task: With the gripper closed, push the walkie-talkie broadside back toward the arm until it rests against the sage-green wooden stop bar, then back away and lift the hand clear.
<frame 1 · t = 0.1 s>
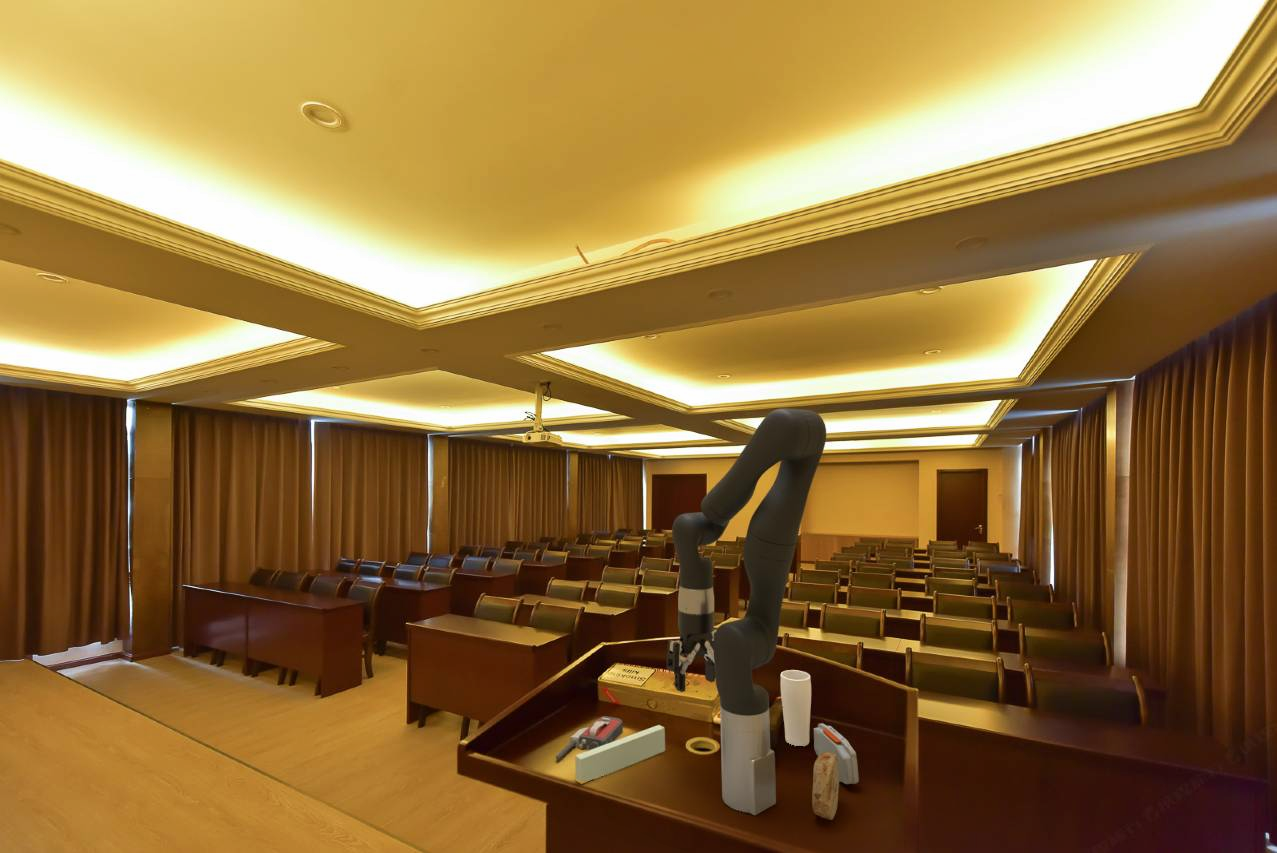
hand: (695, 685, 122), 17 cm above the table, tool pointing down, fingers open, 8 cm apart
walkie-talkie: (591, 747, 132), on the table
stop bar: (622, 765, 123), on the table
drinking glass: (797, 743, 132), on the table
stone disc: (826, 814, 105), on the table
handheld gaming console: (834, 774, 119), on the table
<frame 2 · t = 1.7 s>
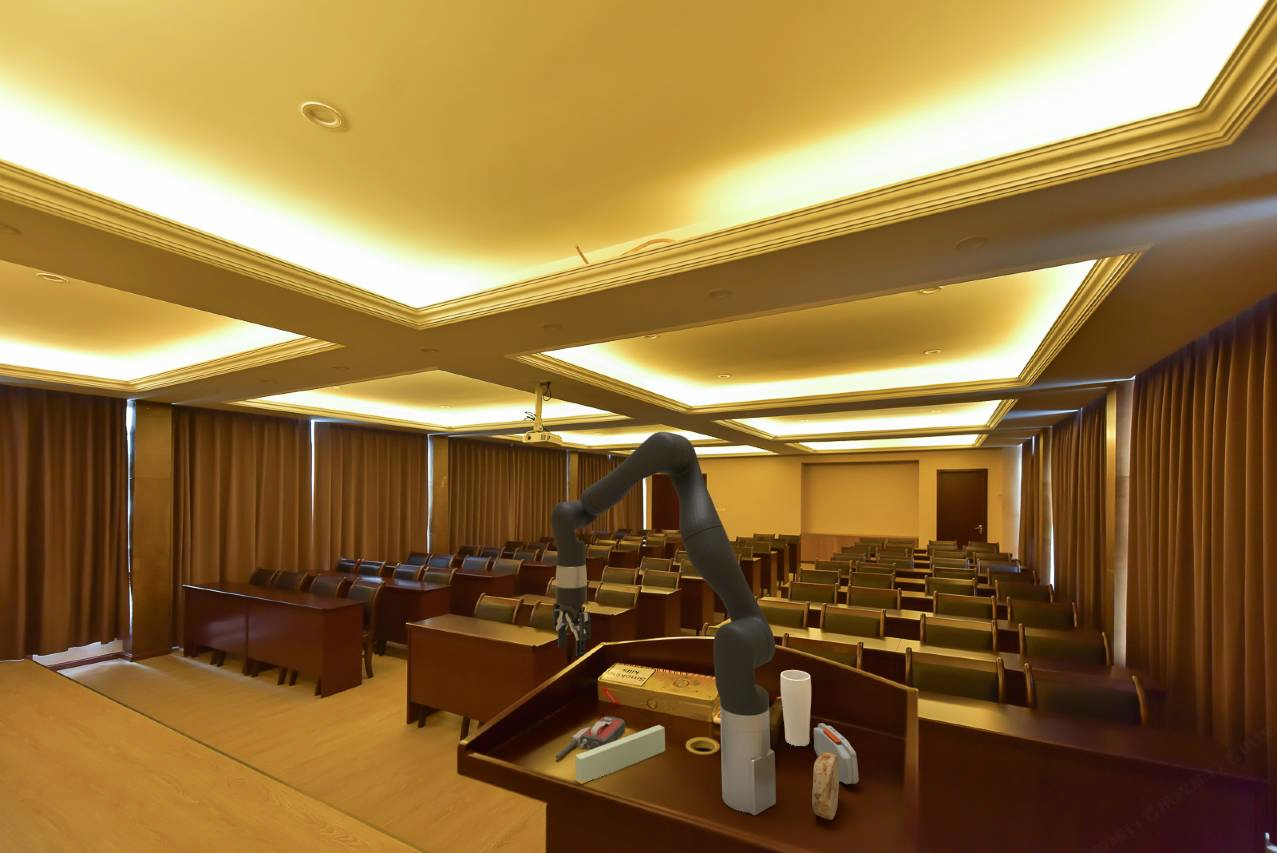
hand: (571, 650, 141), 19 cm above the table, tool pointing down, fingers open, 8 cm apart
nothing on the table moved.
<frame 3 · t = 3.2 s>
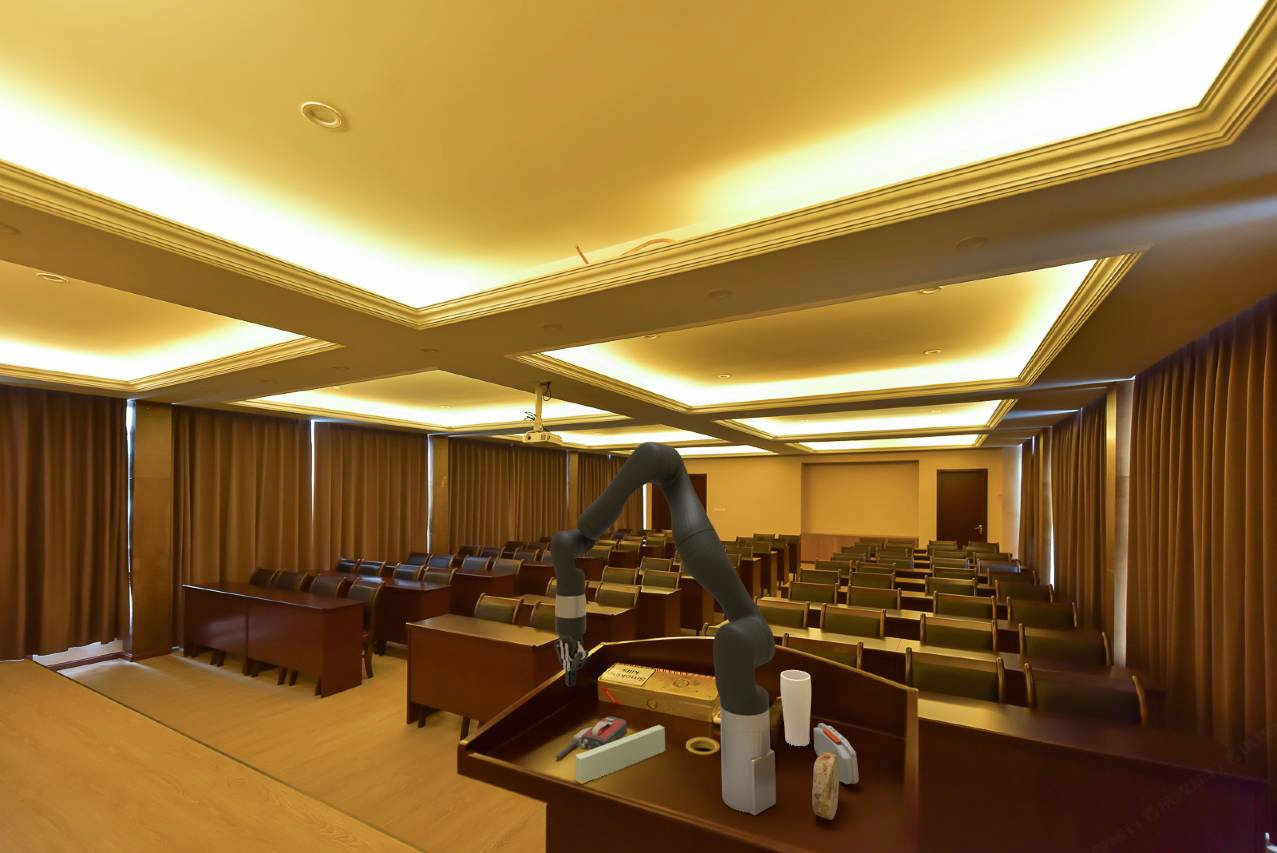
hand: (570, 685, 140), 11 cm above the table, tool pointing down, fingers closed
nothing on the table moved.
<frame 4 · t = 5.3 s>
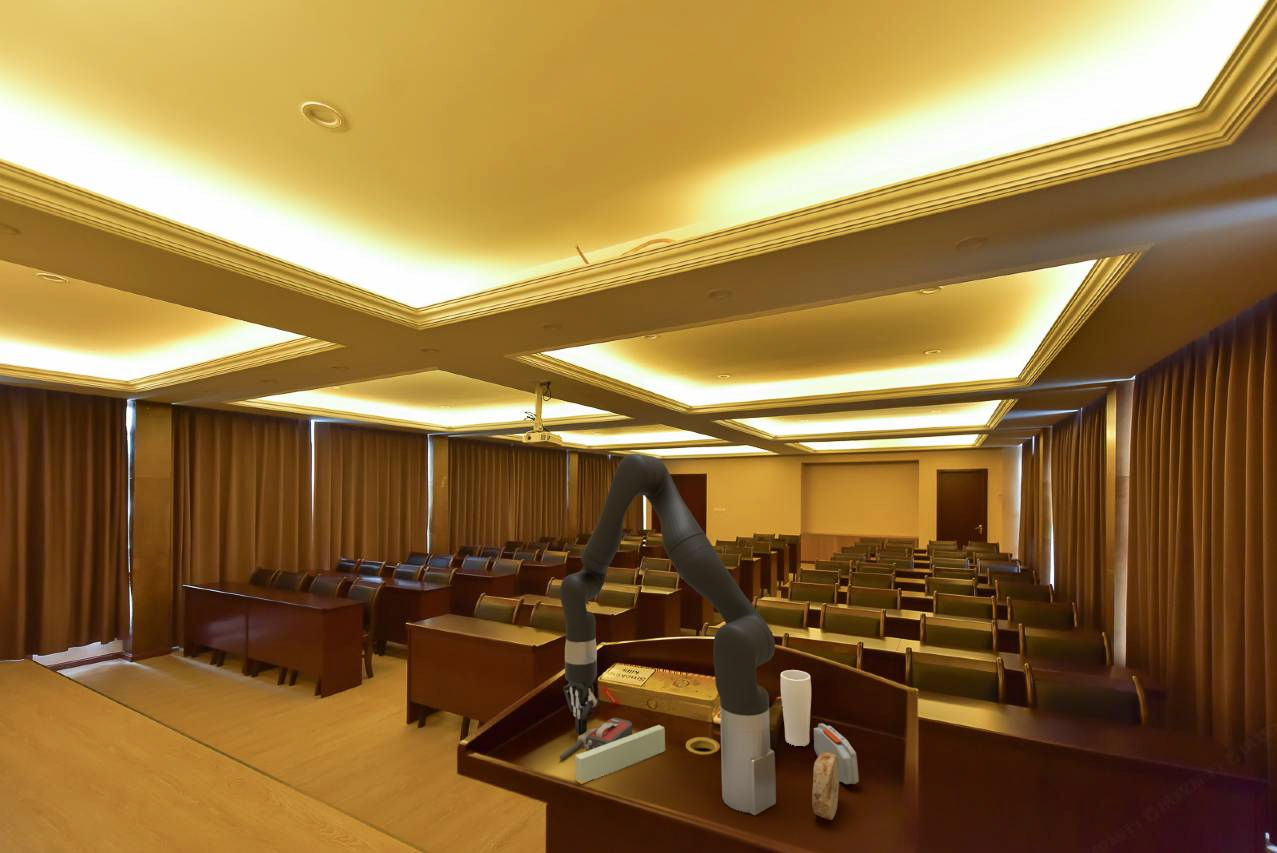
hand: (581, 732, 136), 1 cm above the table, tool pointing down, fingers closed
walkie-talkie: (598, 748, 132), on the table
everything else where it was.
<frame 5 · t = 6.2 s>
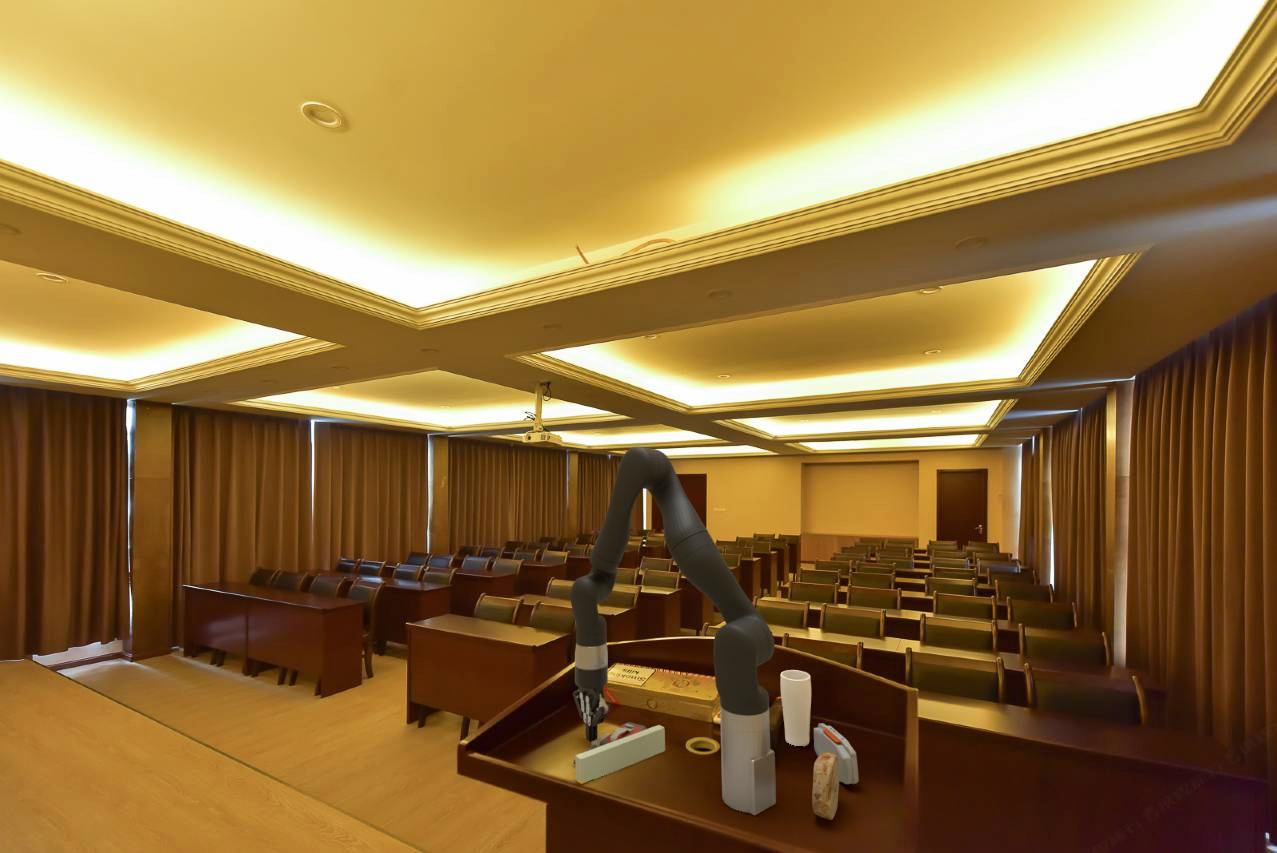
hand: (591, 739, 132), 1 cm above the table, tool pointing down, fingers closed
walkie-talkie: (612, 753, 129), on the table, touching gripper
everything else where it was.
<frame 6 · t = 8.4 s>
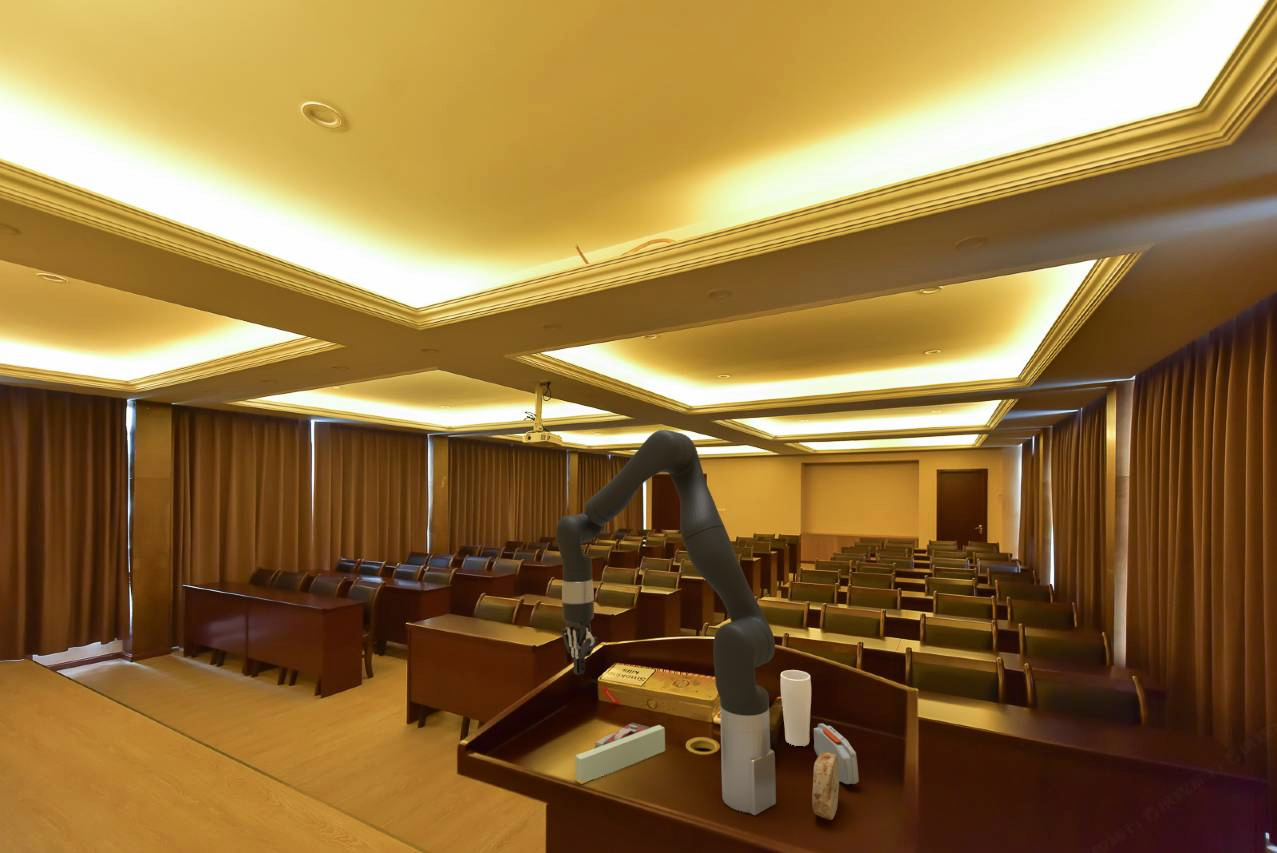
hand: (579, 673, 137), 15 cm above the table, tool pointing down, fingers closed
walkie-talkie: (616, 754, 129), on the table
everything else where it was.
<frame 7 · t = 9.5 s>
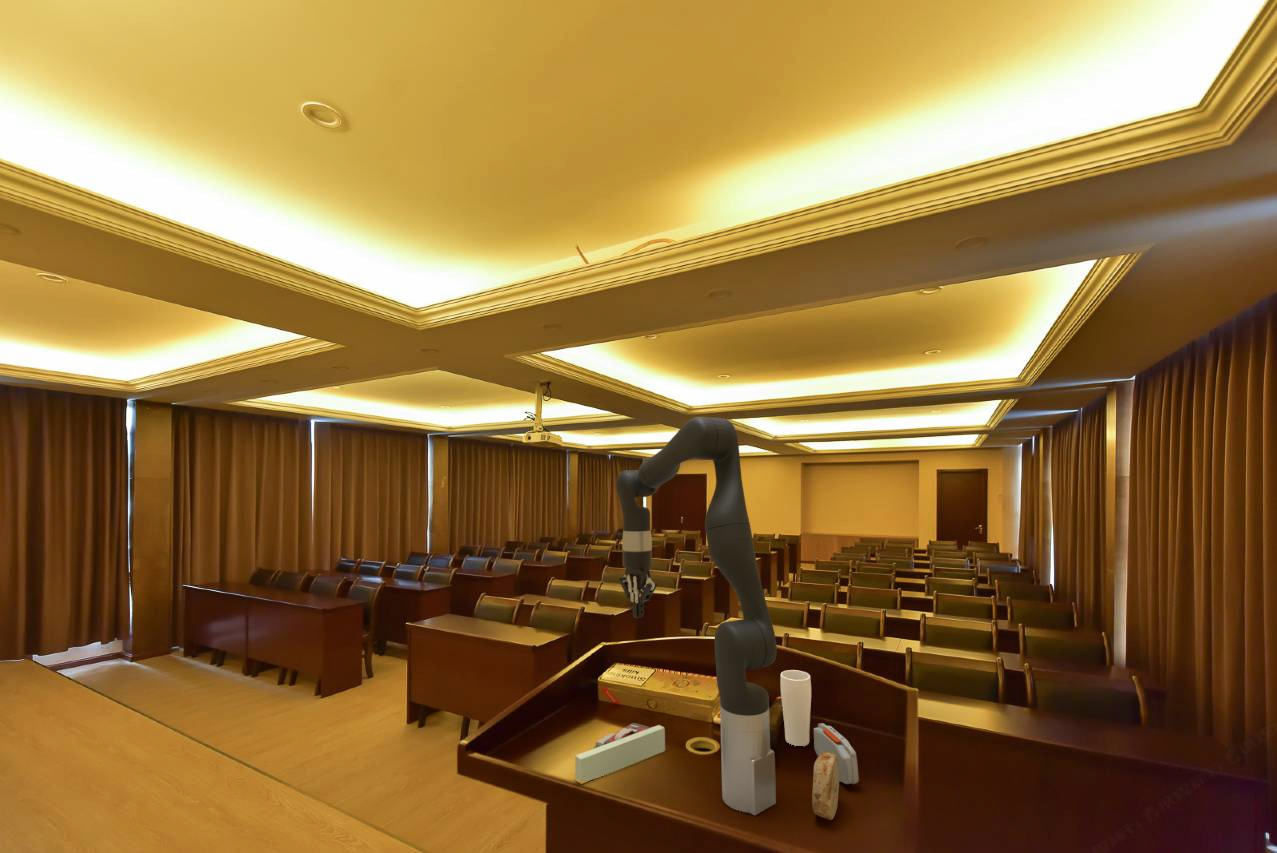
hand: (638, 617, 147), 25 cm above the table, tool pointing down, fingers closed
nothing on the table moved.
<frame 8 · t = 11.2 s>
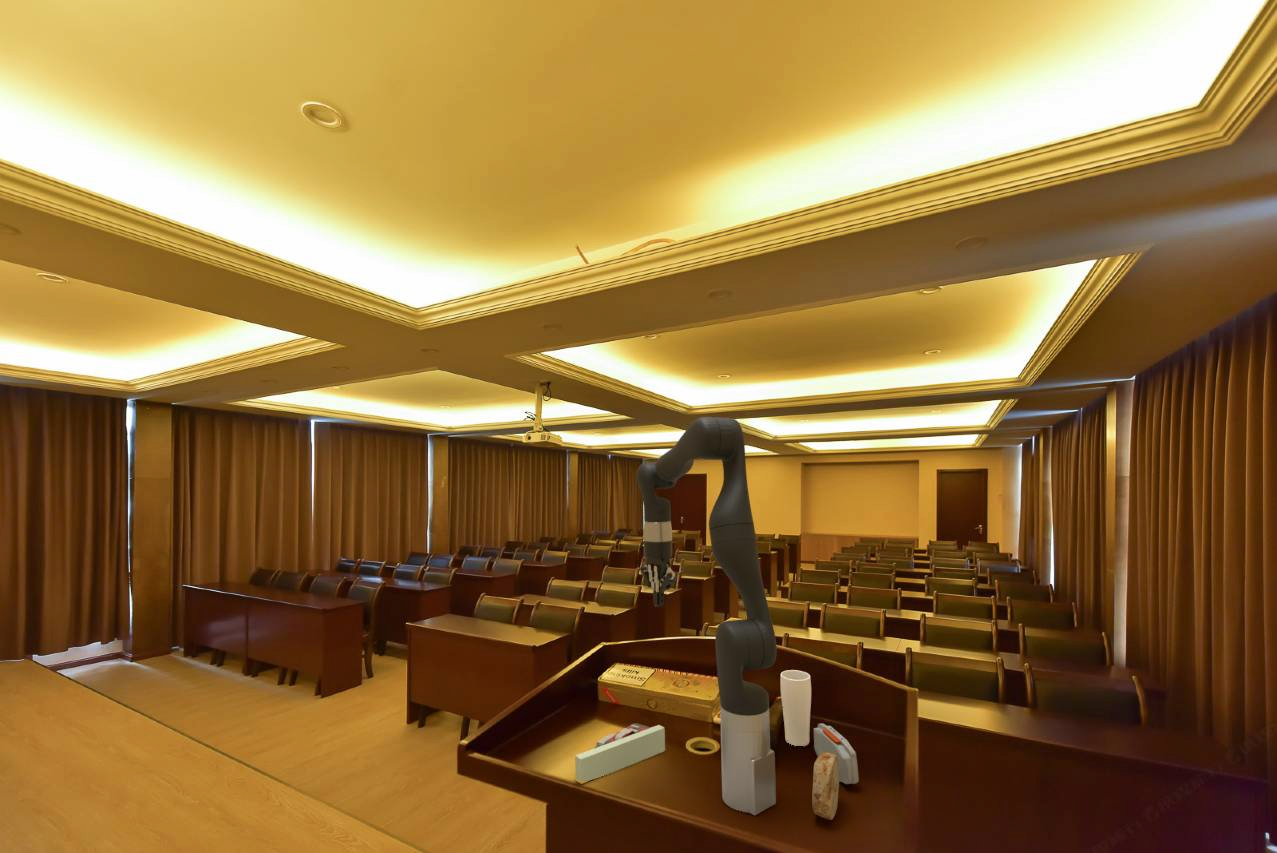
hand: (658, 605, 151), 27 cm above the table, tool pointing down, fingers closed
nothing on the table moved.
at the end: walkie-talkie inside the target area (2.9 cm from its centre), on the table; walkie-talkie moved 7.0 cm from its start; the gripper is holding nothing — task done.
